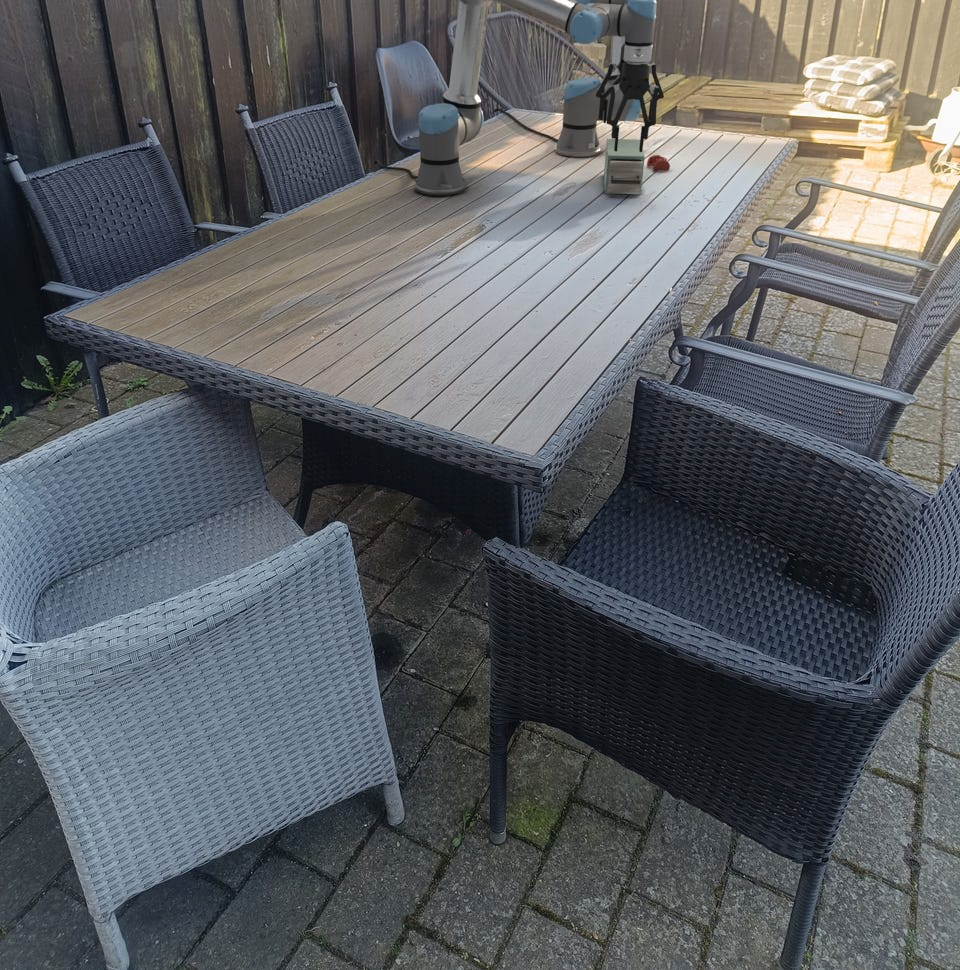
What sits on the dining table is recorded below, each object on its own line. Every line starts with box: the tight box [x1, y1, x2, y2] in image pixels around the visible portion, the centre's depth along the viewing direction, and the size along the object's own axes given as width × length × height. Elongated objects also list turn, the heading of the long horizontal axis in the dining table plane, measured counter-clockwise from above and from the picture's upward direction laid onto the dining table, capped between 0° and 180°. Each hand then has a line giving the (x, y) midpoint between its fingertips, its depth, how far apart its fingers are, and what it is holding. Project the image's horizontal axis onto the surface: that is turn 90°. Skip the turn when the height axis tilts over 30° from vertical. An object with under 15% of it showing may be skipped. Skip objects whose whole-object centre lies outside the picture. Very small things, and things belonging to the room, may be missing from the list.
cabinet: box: [603, 138, 646, 196], centre depth 260 cm, size 20×11×11 cm, turn 174°
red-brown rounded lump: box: [646, 154, 671, 172], centre depth 276 cm, size 6×4×8 cm
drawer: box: [607, 159, 643, 195], centre depth 255 cm, size 24×10×9 cm, turn 174°
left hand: (628, 150), depth 242 cm, fingers open, 6 cm apart
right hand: (626, 122), depth 258 cm, fingers open, 13 cm apart
